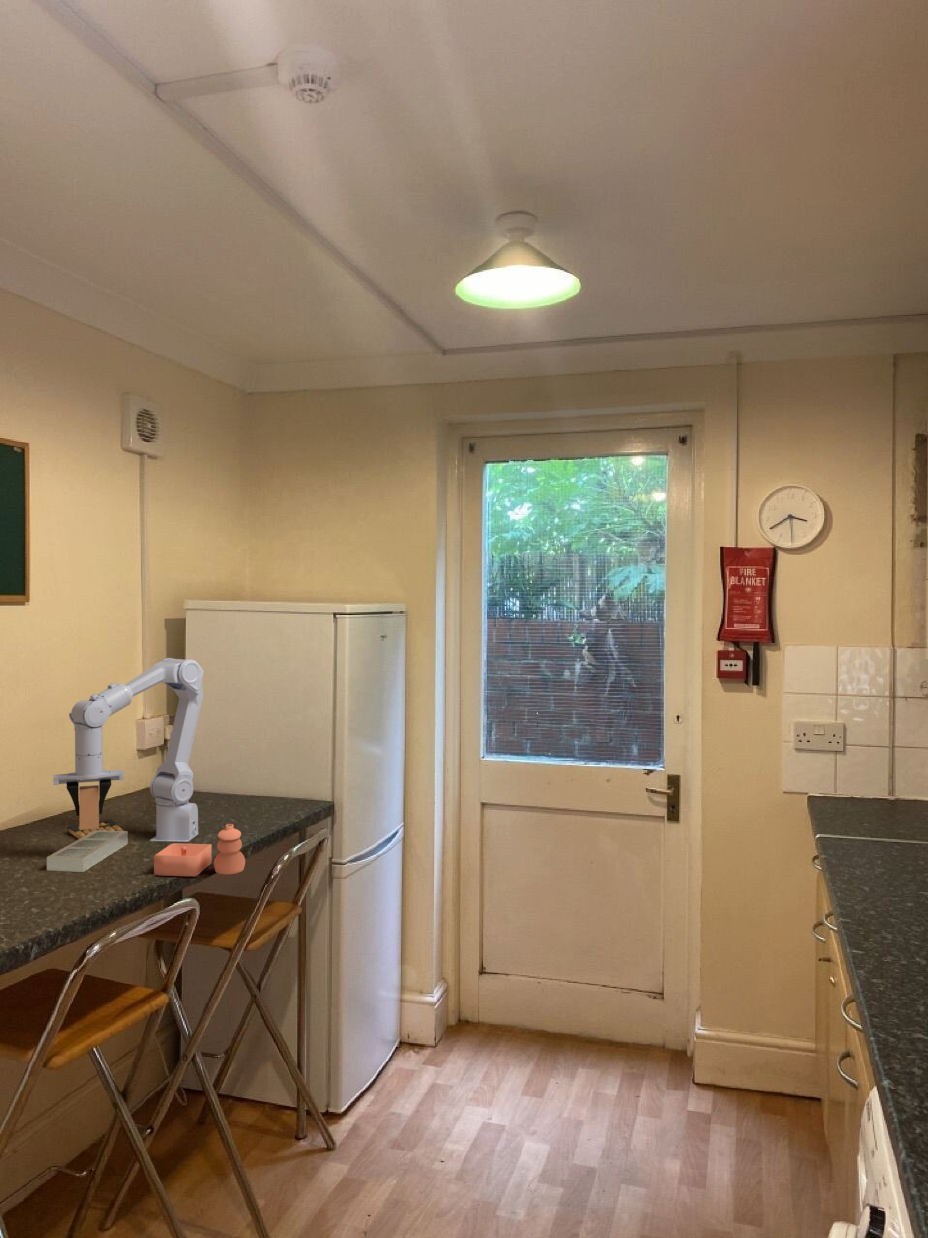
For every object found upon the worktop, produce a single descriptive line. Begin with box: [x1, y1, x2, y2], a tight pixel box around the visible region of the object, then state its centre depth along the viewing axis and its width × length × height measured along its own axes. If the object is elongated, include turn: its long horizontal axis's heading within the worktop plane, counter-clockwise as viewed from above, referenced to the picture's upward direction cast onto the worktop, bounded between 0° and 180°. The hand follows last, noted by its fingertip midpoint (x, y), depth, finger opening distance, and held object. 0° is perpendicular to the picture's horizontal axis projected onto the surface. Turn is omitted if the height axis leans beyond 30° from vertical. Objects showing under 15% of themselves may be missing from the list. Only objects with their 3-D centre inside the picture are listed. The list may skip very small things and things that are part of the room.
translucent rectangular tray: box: [46, 830, 129, 873], centre depth 203 cm, size 22×8×3 cm, turn 177°
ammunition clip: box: [67, 819, 124, 840], centre depth 221 cm, size 11×2×12 cm
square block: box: [79, 784, 100, 830], centre depth 203 cm, size 4×4×9 cm
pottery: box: [153, 823, 246, 877], centre depth 195 cm, size 18×10×10 cm, turn 86°
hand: (89, 814), depth 203 cm, fingers closed on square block, 4 cm apart
